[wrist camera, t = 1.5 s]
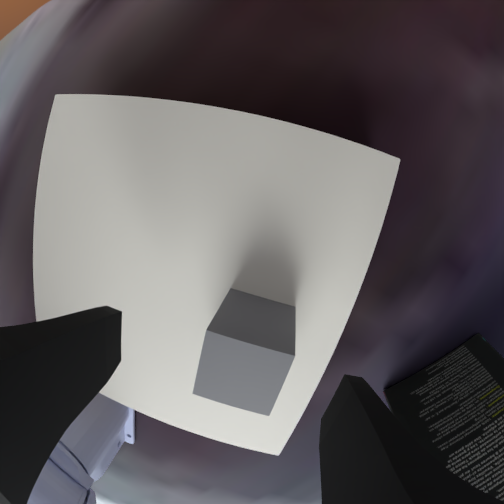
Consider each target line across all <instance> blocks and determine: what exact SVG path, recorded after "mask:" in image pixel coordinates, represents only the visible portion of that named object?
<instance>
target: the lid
mask: <svg viewBox="0 0 504 504" xmlns="http://www.w3.org/2000/svg"><path fill="white" fill-rule="evenodd" d="M399 163H400V159H399V158H396V157H394V156H391V155H389V154H386V153H383V152H381V151H378V150H375V149H373V148H370V147H367V146H364V145H361V144H358V143H356V142H353V141H350V140H347V139H344V138H340V137H337V136H334V135H331V134H328V133H324V132H321V131H318V130H314V129H311V128H307V127H304V126H300V125H296V124H292V123H289V122H285V121H281V120H277V119H273V118H268V117H264V116H260V115H255V114H250V113H246V112H241V111H236V110H231V109H225V108H220V107H214V106H208V105H202V104H195V103H189V102H181V101H174V100H165V99H156V98H146V97H134V96H119V95H95V94H56V95H55V98H54V102H53V106H52V110H51V114H50V118H49V122H48V126H47V131H46V135H45V140H44V146H43V151H42V157H41V163H40V169H39V176H38V184H37V193H36V203H35V215H34V233H33V281H34V300H35V312H36V322H37V321H42V320H47V319H52V318H56V317H60V316H64V315H68V314H72V313H76V312H79V311H83V310H87V309H92V308H96V307H101V306H109V307H112V308H114V309H117V310H119V311H122V329H121V362H120V364H119V365H118V367H117V368H116V370H115V372H114V373H113V375H112V376H111V378H110V379H109V381H108V382H107V383H106V385H105V386H104V387H103V388H102V389H101V390H100V392H99V393H101V394H102V395H104V396H106V397H108V398H110V399H112V400H115V401H117V402H119V403H121V404H123V405H125V406H127V407H129V408H132V409H134V410H136V411H138V412H141V413H143V414H145V415H148V416H150V417H152V418H155V419H157V420H160V421H162V422H165V423H168V424H170V425H173V426H176V427H178V428H181V429H184V430H187V431H190V432H192V433H195V434H198V435H201V436H205V437H208V438H211V439H214V440H218V441H221V442H224V443H228V444H232V445H235V446H239V447H243V448H247V449H251V450H255V451H260V452H264V453H269V454H273V455H278V456H279V454H280V452H281V451H282V449H283V447H284V446H285V444H286V442H287V441H288V439H289V437H290V436H291V434H292V432H293V430H294V429H295V427H296V425H297V423H298V421H299V420H300V418H301V416H302V414H303V412H304V410H305V409H306V407H307V405H308V403H309V401H310V399H311V397H312V395H313V393H314V391H315V389H316V387H317V385H318V383H319V381H320V379H321V377H322V375H323V373H324V371H325V369H326V367H327V365H328V363H329V361H330V359H331V356H332V354H333V352H334V350H335V348H336V345H337V343H338V341H339V339H340V336H341V334H342V332H343V330H344V327H345V325H346V323H347V320H348V318H349V315H350V313H351V311H352V308H353V306H354V303H355V301H356V298H357V296H358V293H359V290H360V288H361V285H362V282H363V280H364V277H365V274H366V272H367V269H368V266H369V263H370V261H371V258H372V255H373V252H374V249H375V246H376V243H377V240H378V237H379V234H380V231H381V228H382V224H383V221H384V218H385V215H386V211H387V208H388V204H389V201H390V197H391V194H392V190H393V187H394V183H395V179H396V175H397V171H398V167H399Z"/></svg>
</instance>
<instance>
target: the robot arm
mask: <svg viewBox="0 0 504 504" xmlns="http://www.w3.org/2000/svg"><path fill="white" fill-rule="evenodd" d="M121 329H122V311H119V310H117V309H114V308H112V307H109V306H101V307H96V308H92V309H87V310H83V311H79V312H76V313H72V314H68V315H64V316H60V317H56V318H52V319H47V320H42V321H37V322H33V323H28V324H22V325H16V326H8V327H0V504H96V497H95V492H94V491H93V490H92V489H91V488H90V487H91V485H92V484H93V482H95V481H96V480H98V479H99V478H101V477H102V475H103V474H104V473H105V471H106V469H107V468H108V466H109V465H110V463H111V462H112V460H113V458H114V457H115V455H116V454H117V452H118V451H119V449H120V447H121V446H122V444H123V443H124V441H126V442H128V443H130V444H133V443H134V442H135V410H134V409H132V408H129V407H127V406H125V405H123V404H121V403H119V402H117V401H115V400H112V399H110V398H108V397H106V396H104V395H102V394H101V393H99V392H100V390H101V389H102V388H103V387H104V386H105V385H106V383H107V382H108V381H109V379H110V378H111V376H112V375H113V373H114V372H115V370H116V368H117V367H118V365H119V364H120V362H121ZM319 450H320V469H321V489H322V504H504V501H502V500H500V499H497V498H495V497H493V496H491V495H489V494H487V493H485V492H483V491H481V490H479V489H477V488H476V487H474V486H472V485H471V484H469V483H467V482H466V481H464V480H463V479H461V478H460V477H458V476H457V475H456V474H454V473H453V472H451V471H450V470H449V469H447V468H446V467H445V466H444V465H442V464H441V463H440V462H439V461H438V460H437V459H435V458H434V457H433V456H432V455H431V454H430V453H429V452H427V451H426V450H425V449H424V448H423V447H422V446H421V445H420V444H419V443H418V442H417V441H416V440H415V438H414V437H413V436H412V435H411V434H410V433H409V432H408V431H407V430H406V429H405V428H404V427H403V425H402V424H401V423H400V422H399V421H398V420H397V418H396V417H395V416H394V415H393V414H392V412H391V411H390V410H389V409H388V408H387V406H386V405H385V404H384V403H383V401H382V400H381V399H380V398H379V396H378V395H377V394H376V393H375V392H374V390H373V389H372V388H371V387H370V385H369V384H368V383H367V382H366V381H365V380H364V379H363V378H362V377H356V376H351V375H344V377H343V379H342V381H341V383H340V385H339V387H338V389H337V391H336V392H335V394H334V396H333V398H332V400H331V402H330V404H329V406H328V408H327V410H326V411H325V413H324V415H323V417H322V419H321V428H320V442H319Z"/></svg>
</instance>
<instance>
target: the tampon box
mask: <svg viewBox="0 0 504 504" xmlns="http://www.w3.org/2000/svg"><path fill="white" fill-rule="evenodd" d="M383 393H384V395H385V398H386V400H387V403H388V405H389V408H390V410H391V412H392V414H393V415H394V416H395V417H396V418H397V420H398V421H399V422H400V423H401V424H402V425H403V427H404V428H405V429H406V430H407V431H408V432H409V433H410V434H411V435H412V436H413V437H414V438H415V440H416V441H417V442H418V443H419V444H420V445H421V446H422V447H423V448H424V449H425V450H426V451H427V452H429V453H430V454H431V455H432V456H433V457H434V458H435V459H437V460H438V461H439V462H440V463H441V464H442V465H444V466H445V467H446V468H447V469H449V470H450V471H451V472H453V473H454V474H456V475H457V476H458V477H460V478H461V479H463V480H464V481H466V482H467V483H469V484H471V485H472V486H474V487H476V488H477V489H479V490H481V491H483V492H485V493H487V494H489V495H491V496H493V497H495V498H497V499H500V500H502V501H504V358H503V357H502V356H501V355H500V354H499V353H498V352H497V351H496V350H495V349H494V348H493V347H492V346H491V345H490V344H489V343H488V342H487V341H486V340H485V339H484V338H483V337H482V336H481V335H480V334H479V333H478V334H476V335H475V336H473V337H472V338H471V339H469V340H468V341H467V342H465V343H464V344H462V345H461V346H459V347H458V348H456V349H455V350H453V351H452V352H450V353H449V354H447V355H446V356H444V357H443V358H441V359H439V360H438V361H436V362H435V363H433V364H431V365H430V366H428V367H426V368H425V369H423V370H421V371H420V372H418V373H416V374H414V375H413V376H411V377H409V378H407V379H405V380H403V381H402V382H400V383H398V384H396V385H394V386H392V387H390V388H388V389H386V390H384V391H383Z"/></svg>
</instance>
